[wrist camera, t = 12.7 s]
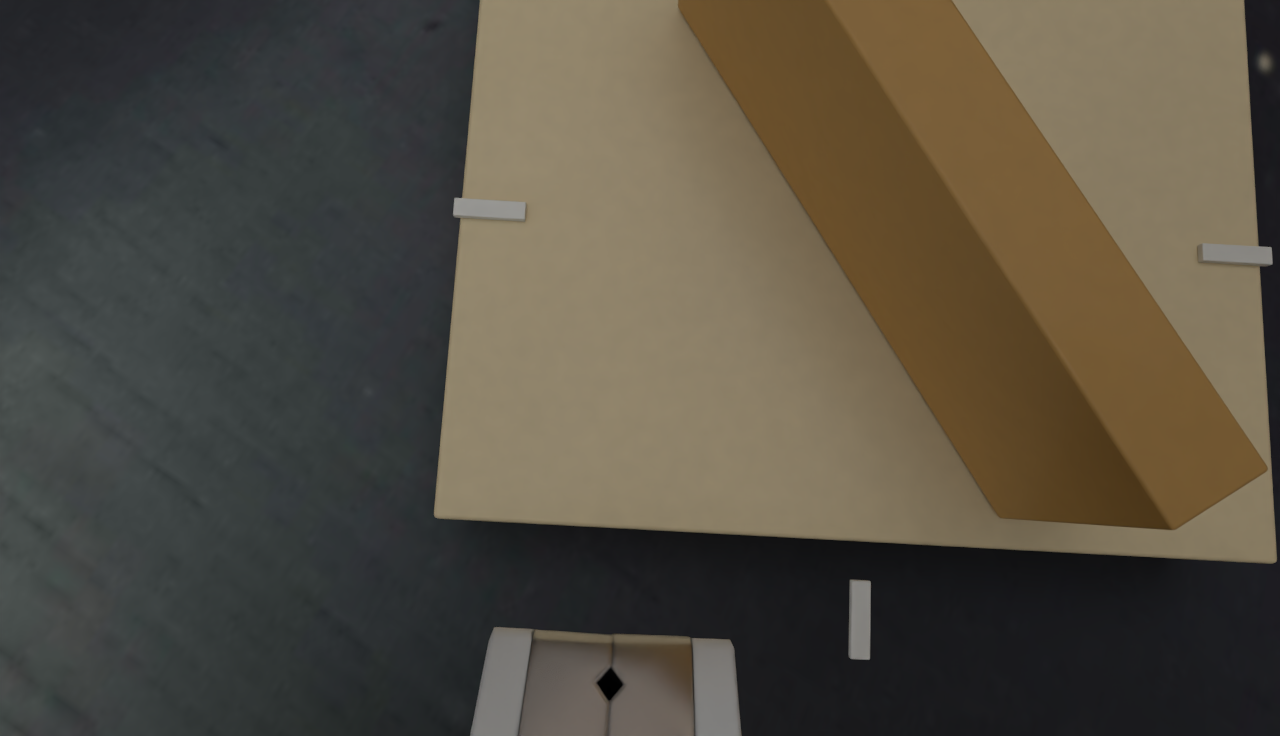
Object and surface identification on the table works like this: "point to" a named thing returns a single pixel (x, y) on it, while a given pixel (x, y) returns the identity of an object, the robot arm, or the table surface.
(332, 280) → the table surface
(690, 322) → the dial panel
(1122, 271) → the pointer
